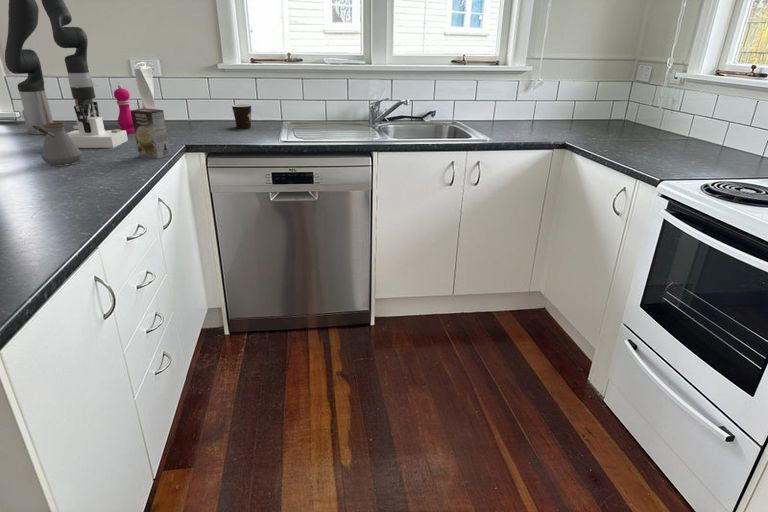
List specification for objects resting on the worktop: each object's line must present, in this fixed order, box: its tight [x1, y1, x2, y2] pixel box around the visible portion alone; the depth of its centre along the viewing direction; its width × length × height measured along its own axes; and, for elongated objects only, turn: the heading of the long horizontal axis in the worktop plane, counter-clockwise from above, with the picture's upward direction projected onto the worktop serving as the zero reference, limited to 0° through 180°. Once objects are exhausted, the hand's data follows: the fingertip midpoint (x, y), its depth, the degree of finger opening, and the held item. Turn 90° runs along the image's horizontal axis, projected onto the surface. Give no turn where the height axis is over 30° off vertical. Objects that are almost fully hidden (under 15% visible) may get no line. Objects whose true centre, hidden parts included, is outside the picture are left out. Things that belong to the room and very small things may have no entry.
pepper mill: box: [113, 84, 135, 135], centre depth 212 cm, size 7×7×20 cm
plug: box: [72, 116, 106, 135], centre depth 191 cm, size 10×6×8 cm, turn 94°
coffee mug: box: [231, 103, 252, 130], centre depth 228 cm, size 12×9×10 cm
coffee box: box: [130, 107, 171, 160], centre depth 174 cm, size 9×6×16 cm
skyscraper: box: [133, 61, 158, 110], centre depth 228 cm, size 8×8×28 cm
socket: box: [66, 128, 129, 149], centre depth 193 cm, size 20×14×5 cm
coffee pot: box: [30, 122, 82, 166], centre depth 158 cm, size 21×12×15 cm, turn 13°
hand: (91, 131), depth 192 cm, fingers closed on plug, 5 cm apart
